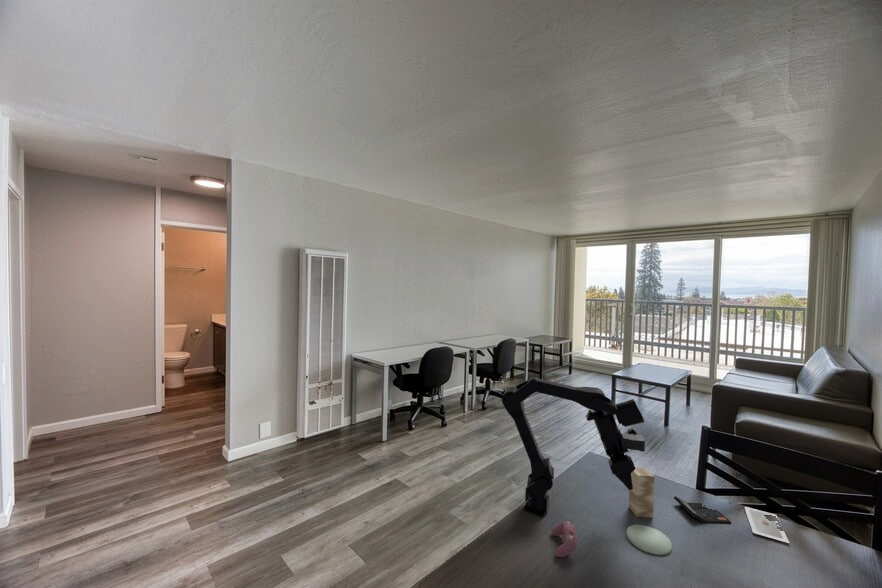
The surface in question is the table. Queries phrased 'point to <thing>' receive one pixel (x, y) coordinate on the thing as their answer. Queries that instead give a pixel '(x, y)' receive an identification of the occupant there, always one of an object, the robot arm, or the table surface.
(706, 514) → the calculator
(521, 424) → the robot arm
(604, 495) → the table surface
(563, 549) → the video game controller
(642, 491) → the maple block
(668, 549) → the sage mat
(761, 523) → the touchpad
